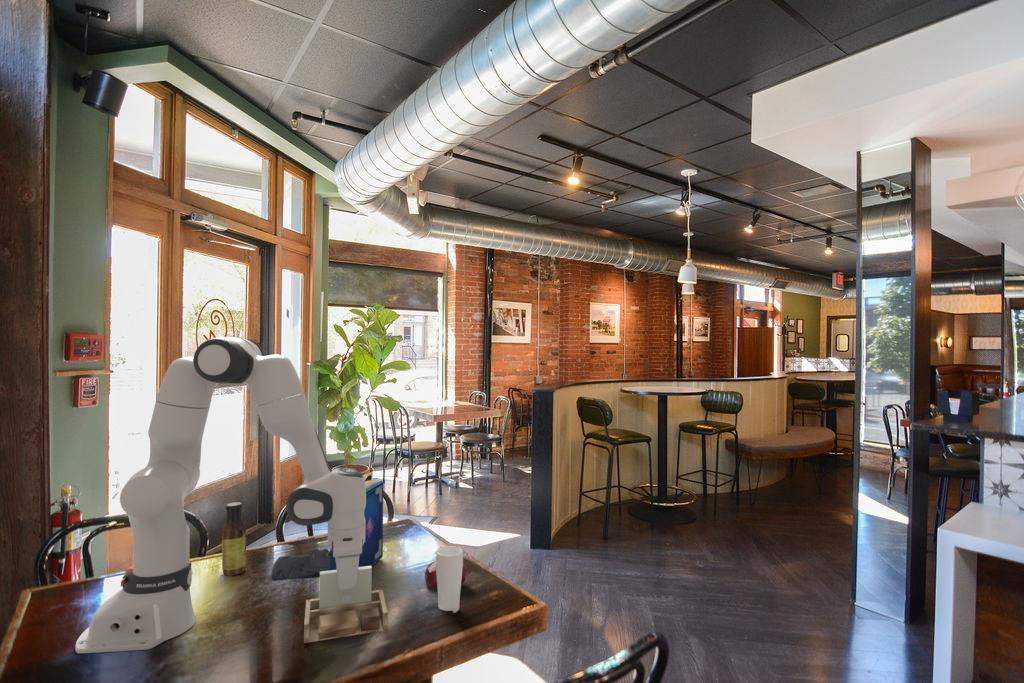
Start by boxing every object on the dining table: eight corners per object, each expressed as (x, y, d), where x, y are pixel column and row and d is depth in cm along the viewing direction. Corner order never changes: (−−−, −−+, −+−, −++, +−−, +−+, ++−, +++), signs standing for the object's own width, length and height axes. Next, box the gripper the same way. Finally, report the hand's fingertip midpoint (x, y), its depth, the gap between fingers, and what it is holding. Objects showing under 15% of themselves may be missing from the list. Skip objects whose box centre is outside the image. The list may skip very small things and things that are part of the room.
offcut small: (361, 631, 121) (361, 618, 121) (360, 622, 125) (360, 610, 125) (379, 628, 123) (379, 615, 123) (377, 620, 126) (378, 607, 126)
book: (348, 590, 144) (350, 498, 145) (325, 587, 146) (327, 496, 146) (383, 559, 165) (384, 479, 166) (362, 557, 167) (364, 477, 167)
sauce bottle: (250, 571, 156) (251, 503, 156) (229, 578, 150) (230, 508, 150) (237, 565, 159) (239, 499, 159) (216, 573, 154) (218, 504, 154)
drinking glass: (451, 601, 139) (451, 543, 139) (467, 610, 134) (468, 551, 134) (429, 609, 134) (430, 550, 134) (446, 619, 129) (447, 558, 129)
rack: (303, 648, 116) (304, 624, 116) (305, 621, 128) (306, 599, 128) (387, 634, 122) (387, 612, 122) (382, 610, 133) (382, 589, 134)
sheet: (318, 620, 126) (319, 574, 126) (319, 617, 127) (319, 571, 127) (371, 613, 130) (371, 568, 130) (370, 610, 131) (371, 565, 131)
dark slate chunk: (277, 562, 163) (277, 546, 164) (351, 555, 169) (351, 540, 169) (267, 583, 149) (268, 566, 149) (349, 576, 154) (349, 559, 154)
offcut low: (318, 639, 118) (318, 632, 118) (318, 628, 122) (318, 621, 122) (355, 633, 120) (355, 626, 120) (354, 622, 125) (354, 616, 125)
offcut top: (320, 633, 117) (320, 626, 117) (319, 622, 122) (319, 616, 122) (357, 626, 121) (358, 619, 121) (355, 616, 125) (355, 609, 125)
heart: (419, 577, 151) (426, 597, 142) (421, 552, 150) (428, 570, 141) (460, 573, 155) (469, 592, 146) (462, 548, 154) (471, 565, 145)
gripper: (332, 523, 137) (331, 576, 137) (333, 552, 118) (332, 614, 118) (357, 521, 139) (356, 573, 139) (362, 549, 120) (361, 610, 120)
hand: (345, 593), depth 128 cm, fingers open, 8 cm apart
